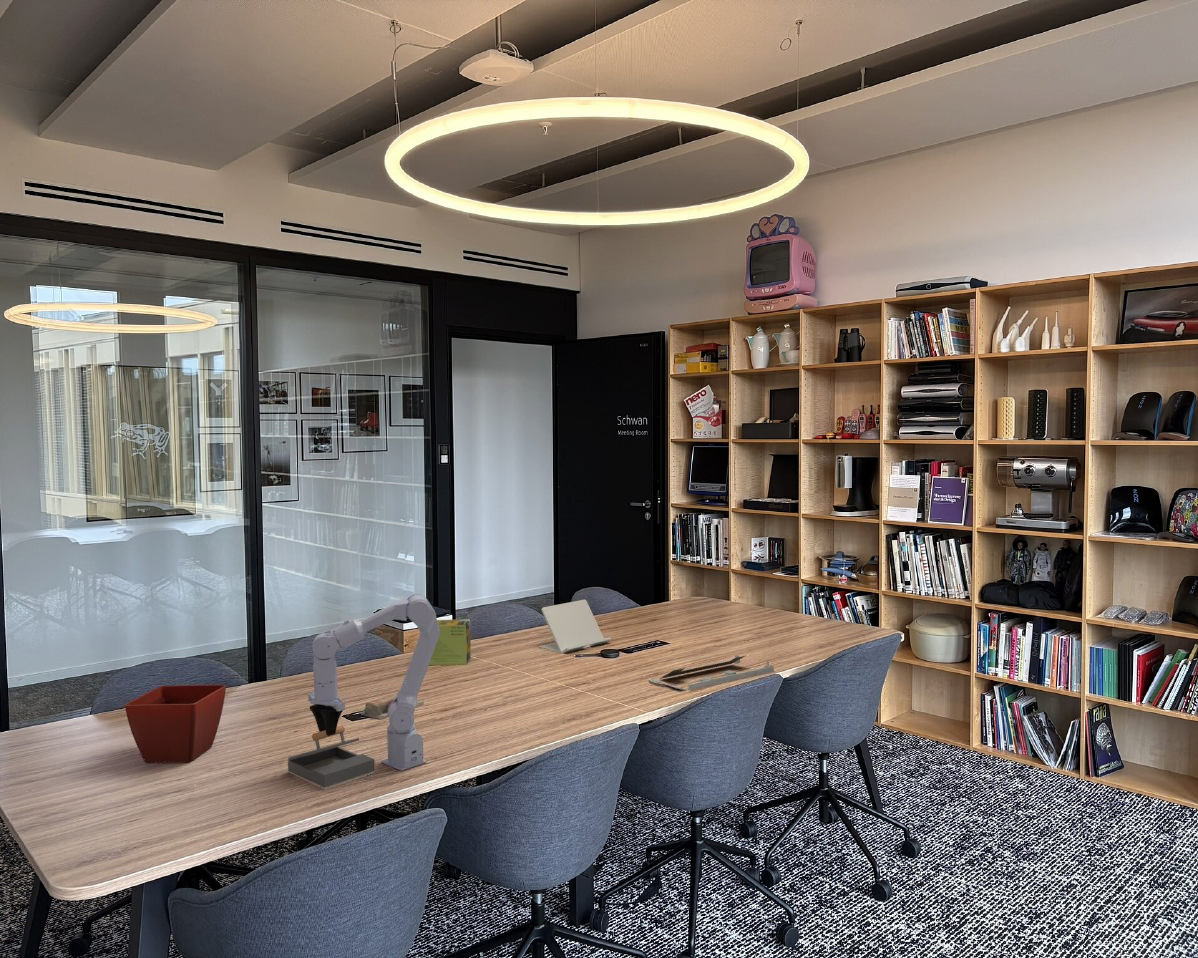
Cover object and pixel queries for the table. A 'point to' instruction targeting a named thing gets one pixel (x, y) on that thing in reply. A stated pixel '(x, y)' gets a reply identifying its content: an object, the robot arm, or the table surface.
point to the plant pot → (176, 721)
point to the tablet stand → (572, 627)
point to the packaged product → (382, 707)
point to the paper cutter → (727, 678)
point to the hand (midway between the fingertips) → (327, 733)
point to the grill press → (322, 735)
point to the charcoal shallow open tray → (331, 767)
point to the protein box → (452, 643)
